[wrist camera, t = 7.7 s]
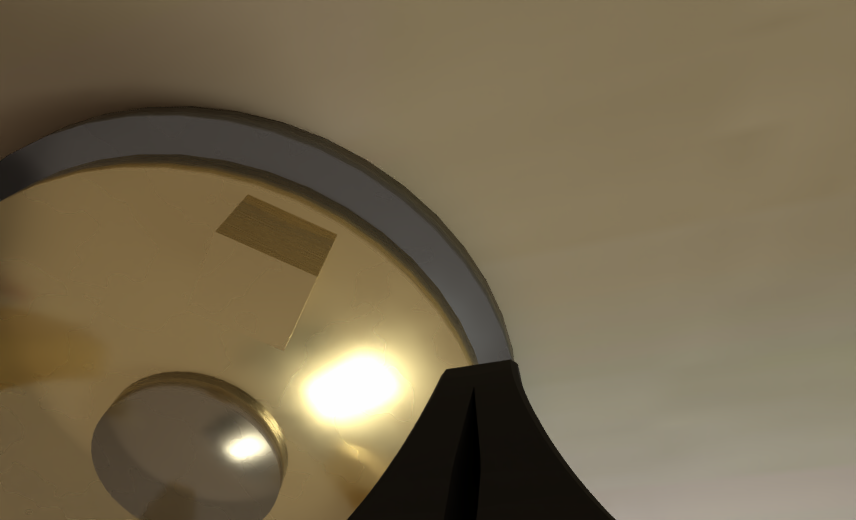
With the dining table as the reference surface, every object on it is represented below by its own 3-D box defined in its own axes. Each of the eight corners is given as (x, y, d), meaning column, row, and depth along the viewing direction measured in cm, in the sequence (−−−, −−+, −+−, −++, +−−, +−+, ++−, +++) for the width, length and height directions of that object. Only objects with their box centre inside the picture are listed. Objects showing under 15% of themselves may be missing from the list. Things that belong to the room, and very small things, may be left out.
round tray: (361, 60, 18) (331, 92, 14) (555, 558, 25) (566, 659, 22) (-183, 259, 22) (-309, 322, 18) (121, 638, 29) (72, 735, 26)
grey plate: (643, 328, 23) (653, 352, 21) (342, 655, 31) (335, 686, 30) (38, -40, 19) (5, -37, 18) (-115, 446, 27) (-144, 471, 26)
